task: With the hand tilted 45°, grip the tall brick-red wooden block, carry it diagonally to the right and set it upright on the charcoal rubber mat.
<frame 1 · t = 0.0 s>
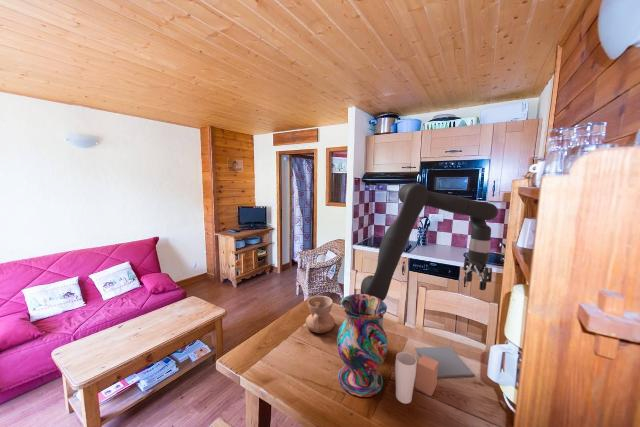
hand: (475, 285, 110), 29 cm above the table, tool pointing down, fingers open, 8 cm apart
vase: (360, 379, 95), on the table
brick block: (425, 387, 92), on the table
drinking glass: (403, 398, 87), on the table
charcoal mat: (442, 361, 104), on the table
ceramic jug: (319, 328, 127), on the table
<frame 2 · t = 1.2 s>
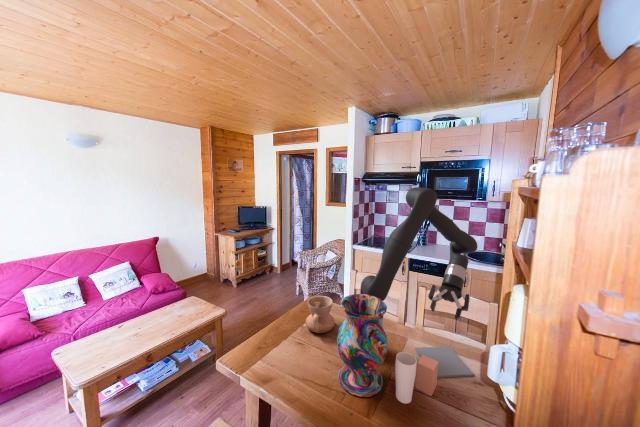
hand: (443, 314, 98), 23 cm above the table, tool tilted 45°, fingers open, 8 cm apart
nothing on the table moved.
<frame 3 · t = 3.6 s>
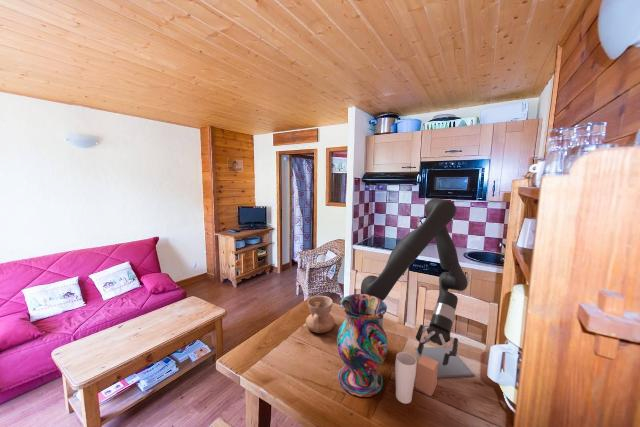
hand: (431, 359, 93), 9 cm above the table, tool tilted 45°, fingers open, 8 cm apart
nothing on the table moved.
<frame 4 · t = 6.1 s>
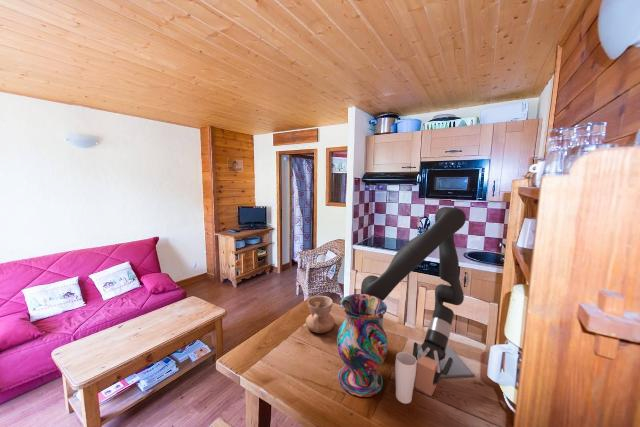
hand: (425, 379, 90), 4 cm above the table, tool tilted 45°, fingers closed on brick block, 5 cm apart
brick block: (425, 387, 92), on the table, touching gripper
everything else where it was.
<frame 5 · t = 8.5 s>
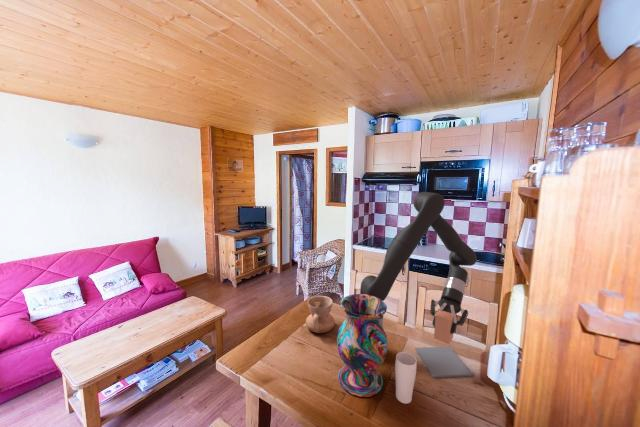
hand: (442, 330, 99), 16 cm above the table, tool tilted 45°, fingers closed on brick block, 5 cm apart
brick block: (443, 338, 100), point 12 cm above the table, touching gripper
everything else where it was.
when the fingers open (6 cm above the table, at t = 11.1 s): brick block drops 1 cm, resting on charcoal mat.
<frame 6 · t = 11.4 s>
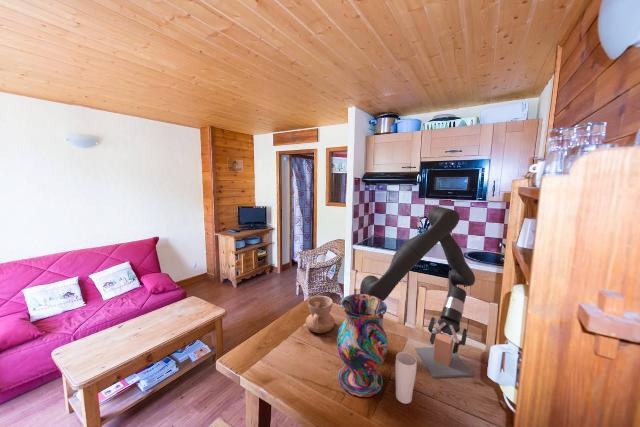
hand: (442, 348, 102), 7 cm above the table, tool tilted 45°, fingers open, 8 cm apart
brick block: (442, 359, 104), point 1 cm above the table, touching charcoal mat
everything else where it was.
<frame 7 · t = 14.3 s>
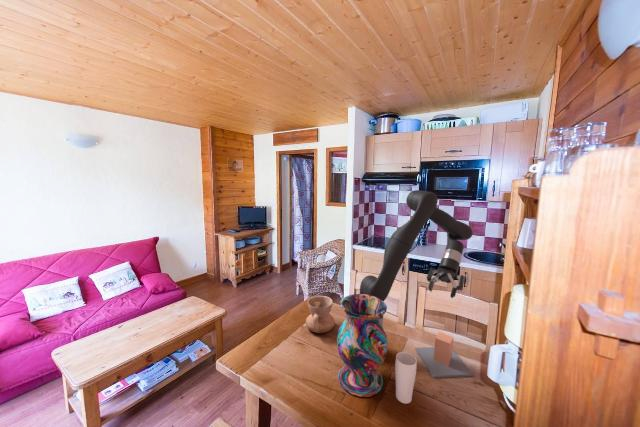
hand: (440, 293, 108), 26 cm above the table, tool tilted 45°, fingers open, 8 cm apart
nothing on the table moved.
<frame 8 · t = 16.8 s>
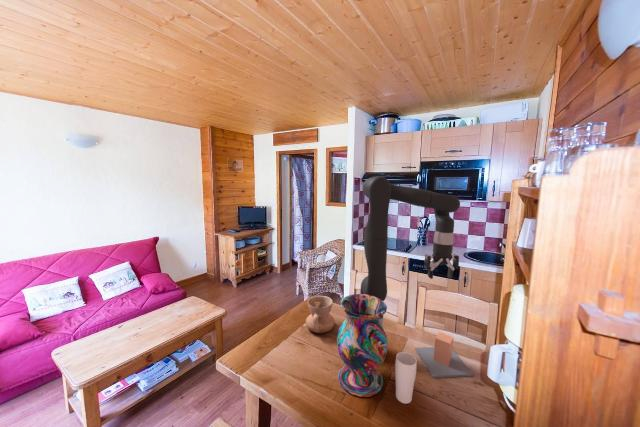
hand: (440, 278, 110), 32 cm above the table, tool pointing down, fingers open, 8 cm apart
nothing on the table moved.
at the end: brick block inside the target area on the charcoal mat (0.1 cm from its centre), point 0.8 cm above the charcoal mat's base; brick block tilted 0°; the gripper is holding nothing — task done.
